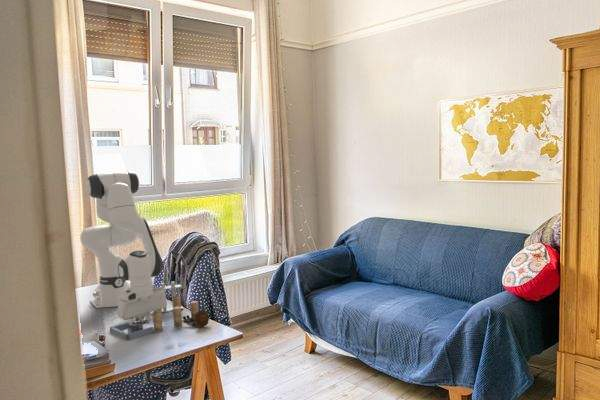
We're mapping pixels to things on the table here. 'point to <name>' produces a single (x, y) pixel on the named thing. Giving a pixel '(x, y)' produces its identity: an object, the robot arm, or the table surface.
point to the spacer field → (176, 313)
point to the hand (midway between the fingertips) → (144, 323)
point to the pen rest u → (118, 332)
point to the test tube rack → (165, 295)
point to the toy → (198, 318)
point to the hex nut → (135, 326)
